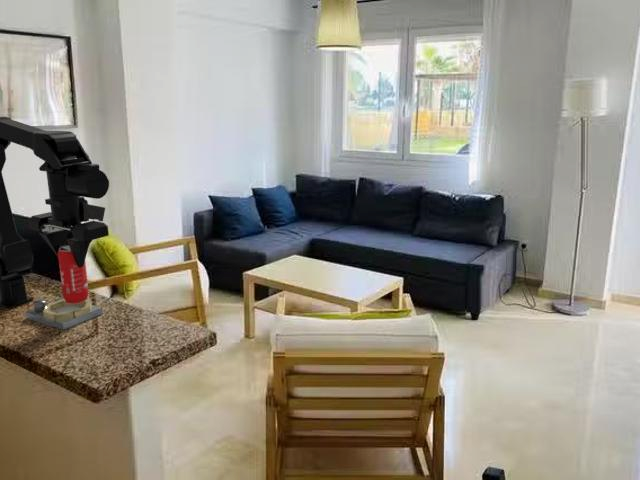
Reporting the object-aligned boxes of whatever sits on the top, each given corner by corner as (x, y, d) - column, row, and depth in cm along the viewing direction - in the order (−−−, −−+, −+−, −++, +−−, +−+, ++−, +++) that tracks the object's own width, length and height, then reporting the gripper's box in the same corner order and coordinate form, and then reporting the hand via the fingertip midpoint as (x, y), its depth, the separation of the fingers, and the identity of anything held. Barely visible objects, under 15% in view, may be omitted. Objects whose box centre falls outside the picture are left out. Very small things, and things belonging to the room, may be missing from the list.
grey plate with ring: (26, 318, 126) (24, 303, 126) (66, 303, 135) (64, 289, 134) (63, 330, 120) (61, 314, 119) (103, 313, 128) (101, 299, 127)
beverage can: (80, 305, 122) (74, 251, 119) (58, 303, 123) (51, 250, 120) (94, 296, 127) (88, 244, 124) (73, 294, 128) (67, 243, 125)
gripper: (126, 192, 121) (132, 262, 125) (68, 183, 130) (76, 248, 134) (81, 201, 111) (89, 276, 116) (22, 191, 120) (32, 261, 125)
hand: (72, 264), depth 123 cm, fingers closed on beverage can, 5 cm apart
